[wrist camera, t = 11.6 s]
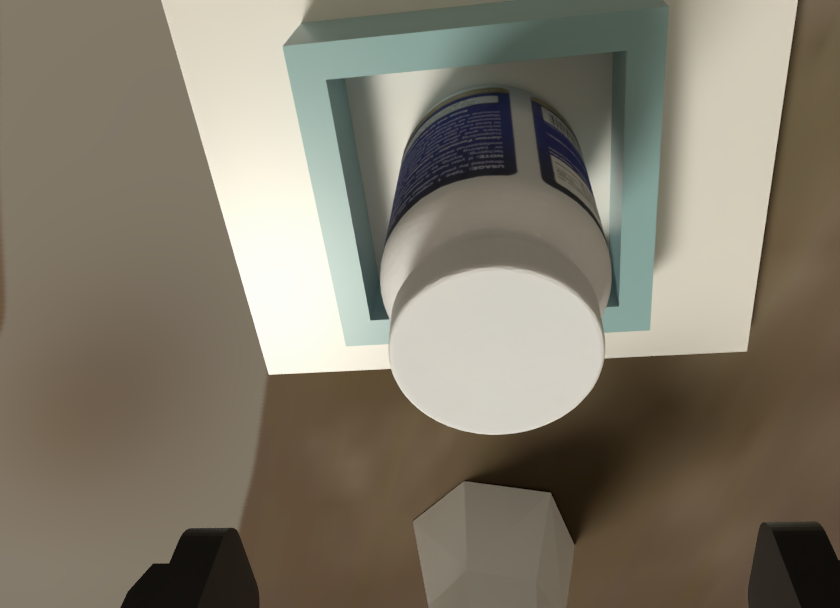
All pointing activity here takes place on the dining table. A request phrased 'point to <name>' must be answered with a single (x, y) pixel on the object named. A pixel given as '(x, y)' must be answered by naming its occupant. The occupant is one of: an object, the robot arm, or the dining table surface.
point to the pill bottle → (495, 265)
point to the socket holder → (472, 67)
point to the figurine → (494, 549)
